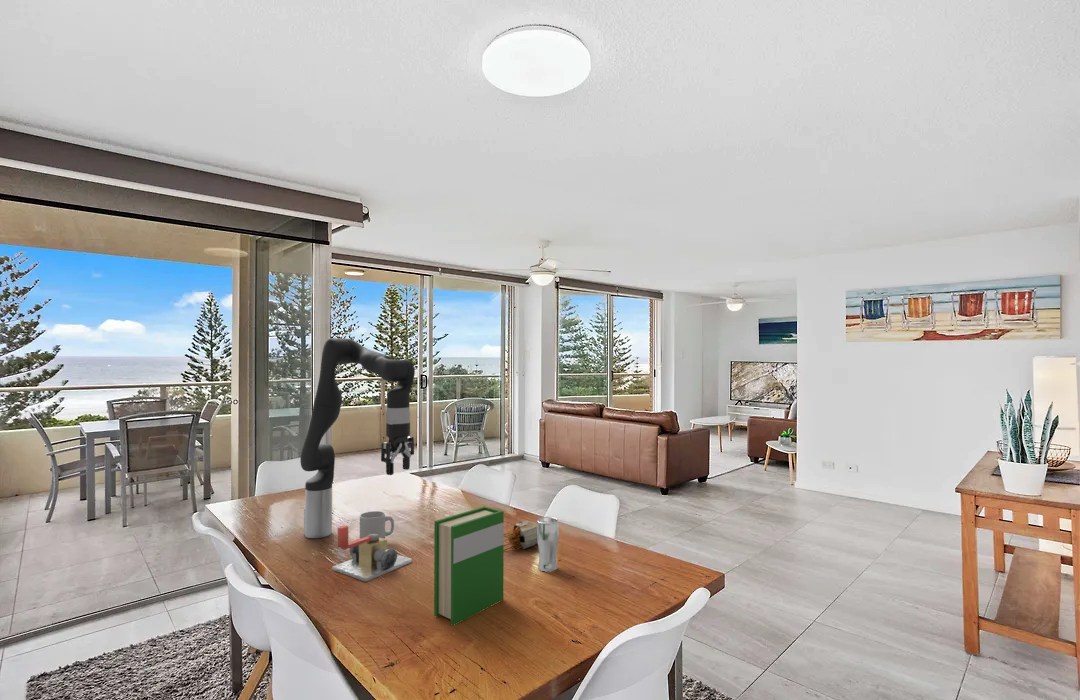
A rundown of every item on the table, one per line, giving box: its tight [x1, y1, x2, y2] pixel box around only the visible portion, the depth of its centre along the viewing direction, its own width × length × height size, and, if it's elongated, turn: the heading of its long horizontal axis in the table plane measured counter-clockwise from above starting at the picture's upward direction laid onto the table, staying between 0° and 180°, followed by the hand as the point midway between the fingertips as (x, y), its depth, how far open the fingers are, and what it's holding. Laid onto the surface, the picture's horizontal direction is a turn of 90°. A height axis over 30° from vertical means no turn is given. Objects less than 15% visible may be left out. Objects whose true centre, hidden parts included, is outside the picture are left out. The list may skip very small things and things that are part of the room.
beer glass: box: [536, 516, 560, 573], centre depth 163 cm, size 7×7×15 cm
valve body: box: [331, 537, 413, 583], centre depth 165 cm, size 16×18×8 cm
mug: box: [359, 510, 395, 539], centre depth 184 cm, size 12×8×11 cm
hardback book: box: [433, 505, 505, 626], centre depth 138 cm, size 18×7×24 cm, turn 140°
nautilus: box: [504, 520, 538, 553], centre depth 183 cm, size 8×22×15 cm
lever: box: [337, 525, 379, 551], centre depth 161 cm, size 14×4×7 cm, turn 146°
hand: (398, 471), depth 168 cm, fingers open, 8 cm apart
